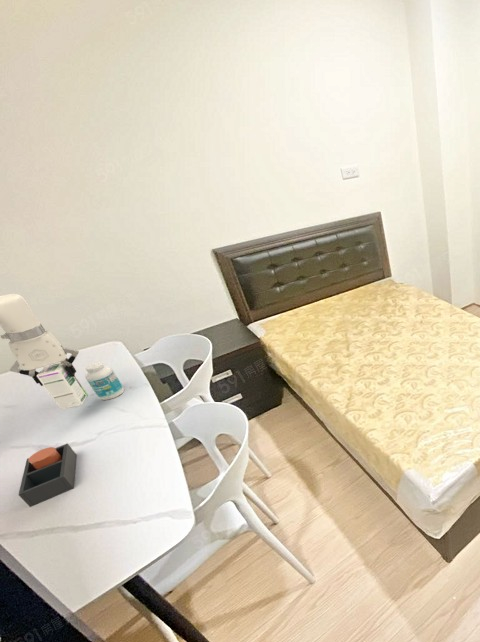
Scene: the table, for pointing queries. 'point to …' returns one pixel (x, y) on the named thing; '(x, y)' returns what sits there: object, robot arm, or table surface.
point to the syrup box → (62, 386)
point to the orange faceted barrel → (44, 457)
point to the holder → (49, 478)
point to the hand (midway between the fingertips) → (58, 379)
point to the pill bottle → (103, 381)
